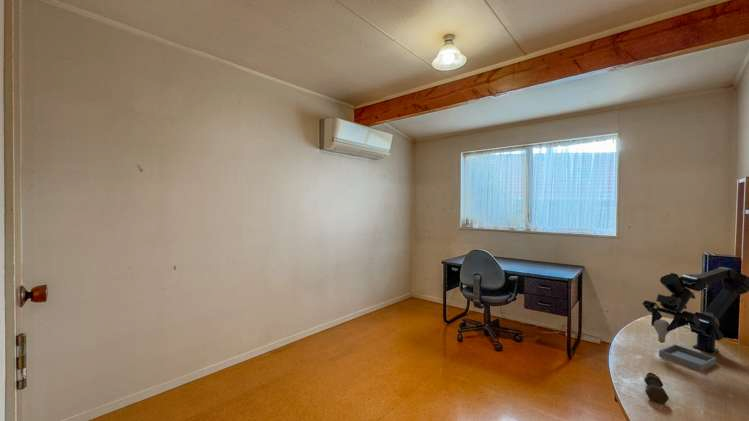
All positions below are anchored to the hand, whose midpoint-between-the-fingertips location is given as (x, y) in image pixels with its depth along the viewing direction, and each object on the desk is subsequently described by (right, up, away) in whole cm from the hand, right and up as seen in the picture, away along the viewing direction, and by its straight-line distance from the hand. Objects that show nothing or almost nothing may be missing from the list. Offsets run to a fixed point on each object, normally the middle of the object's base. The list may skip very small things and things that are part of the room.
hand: (659, 328), depth 136 cm
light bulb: (+1, -7, +1) cm, 7 cm away
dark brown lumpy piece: (-24, -13, -25) cm, 37 cm away
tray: (+8, -12, -3) cm, 15 cm away
